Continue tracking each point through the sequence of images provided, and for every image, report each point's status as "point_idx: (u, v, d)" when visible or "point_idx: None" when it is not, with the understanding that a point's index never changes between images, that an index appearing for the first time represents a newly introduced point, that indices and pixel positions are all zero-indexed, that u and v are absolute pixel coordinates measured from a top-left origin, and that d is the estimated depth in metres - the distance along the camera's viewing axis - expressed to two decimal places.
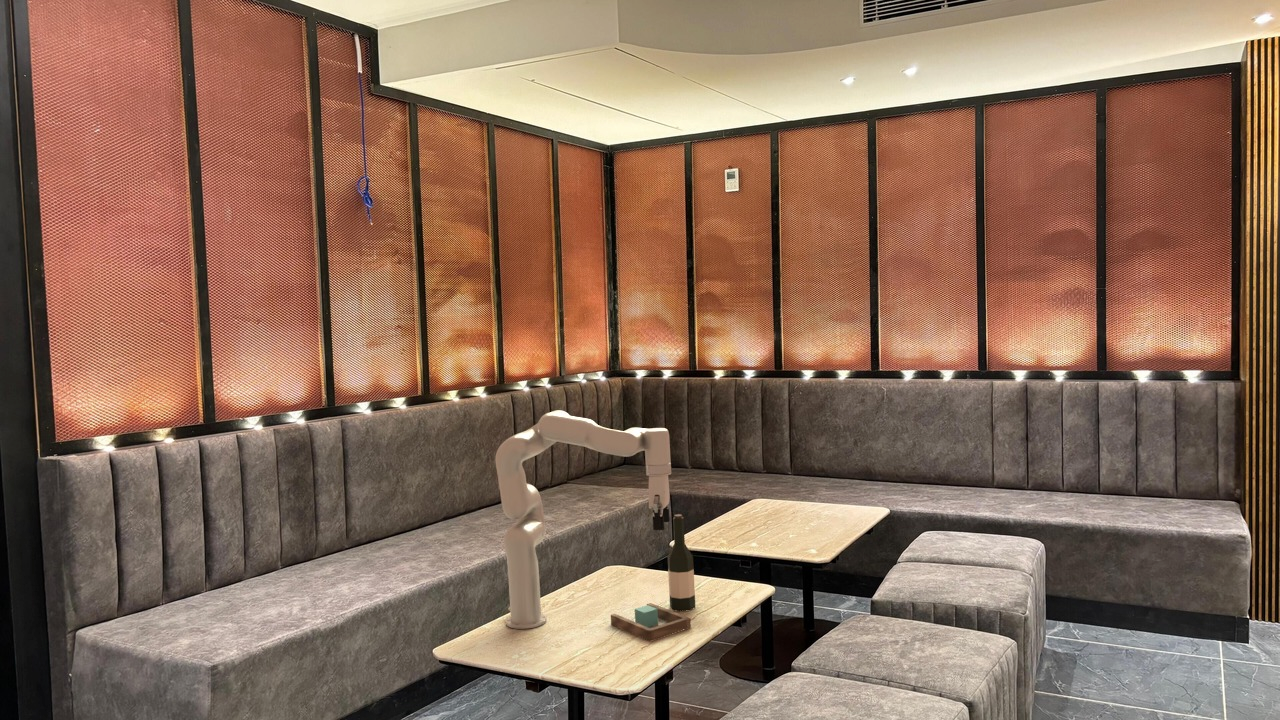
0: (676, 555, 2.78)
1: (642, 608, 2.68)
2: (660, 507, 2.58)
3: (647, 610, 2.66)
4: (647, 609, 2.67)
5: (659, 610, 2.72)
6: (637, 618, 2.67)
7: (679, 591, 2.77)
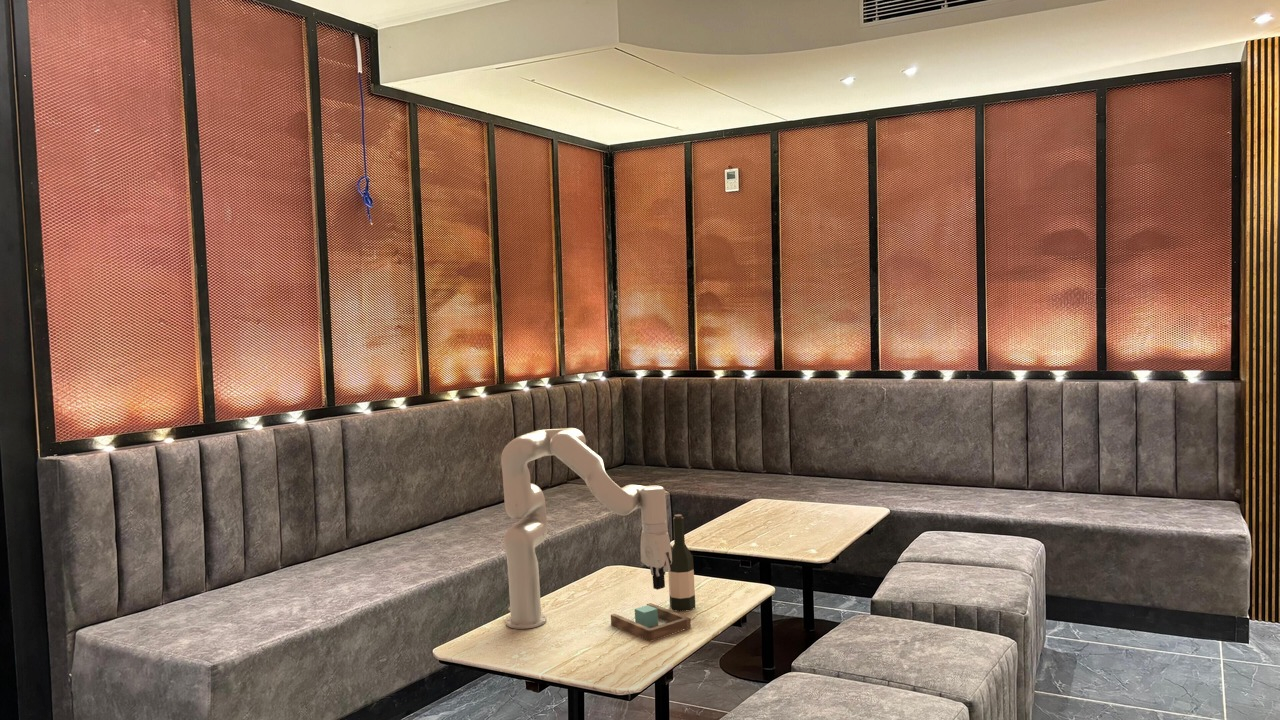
0: (676, 555, 2.78)
1: (642, 608, 2.68)
2: (664, 566, 2.60)
3: (647, 610, 2.66)
4: (647, 609, 2.67)
5: (659, 610, 2.72)
6: (637, 618, 2.67)
7: (679, 591, 2.77)
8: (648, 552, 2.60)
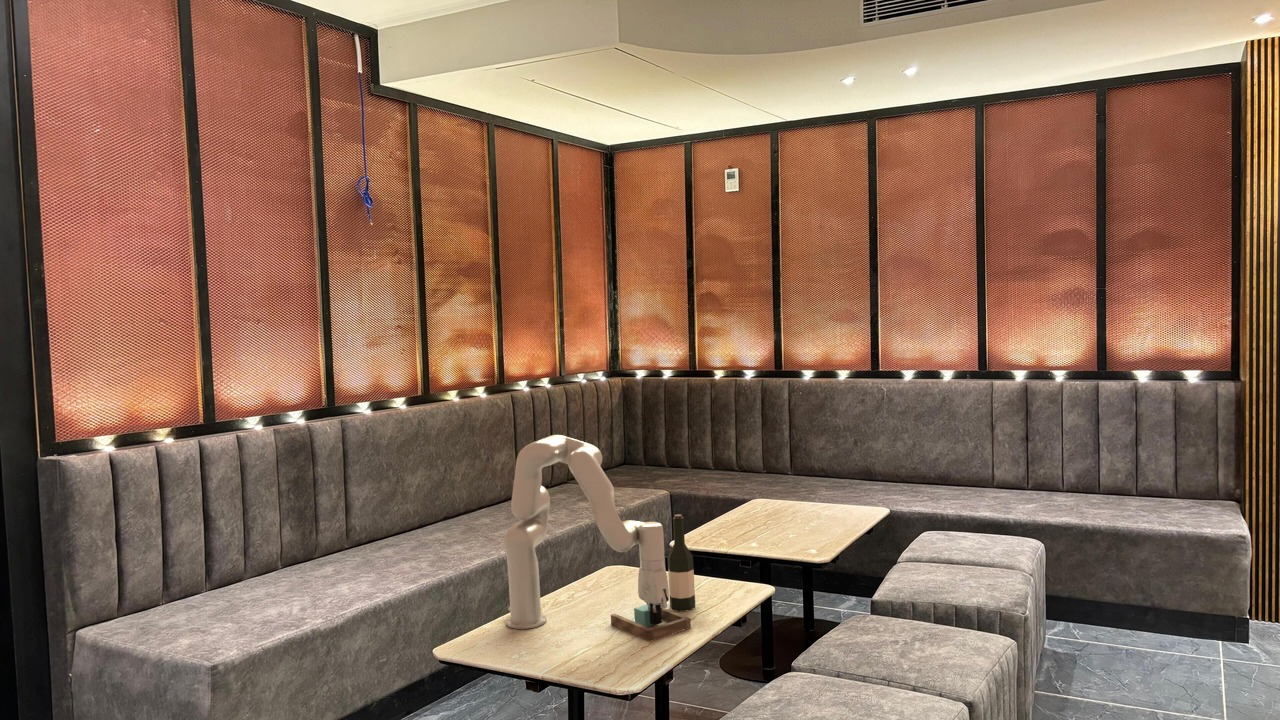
0: (676, 555, 2.78)
1: (641, 607, 2.68)
2: (661, 603, 2.62)
3: (646, 609, 2.66)
4: (646, 608, 2.67)
5: None
6: (636, 617, 2.67)
7: (679, 591, 2.77)
8: (646, 588, 2.62)
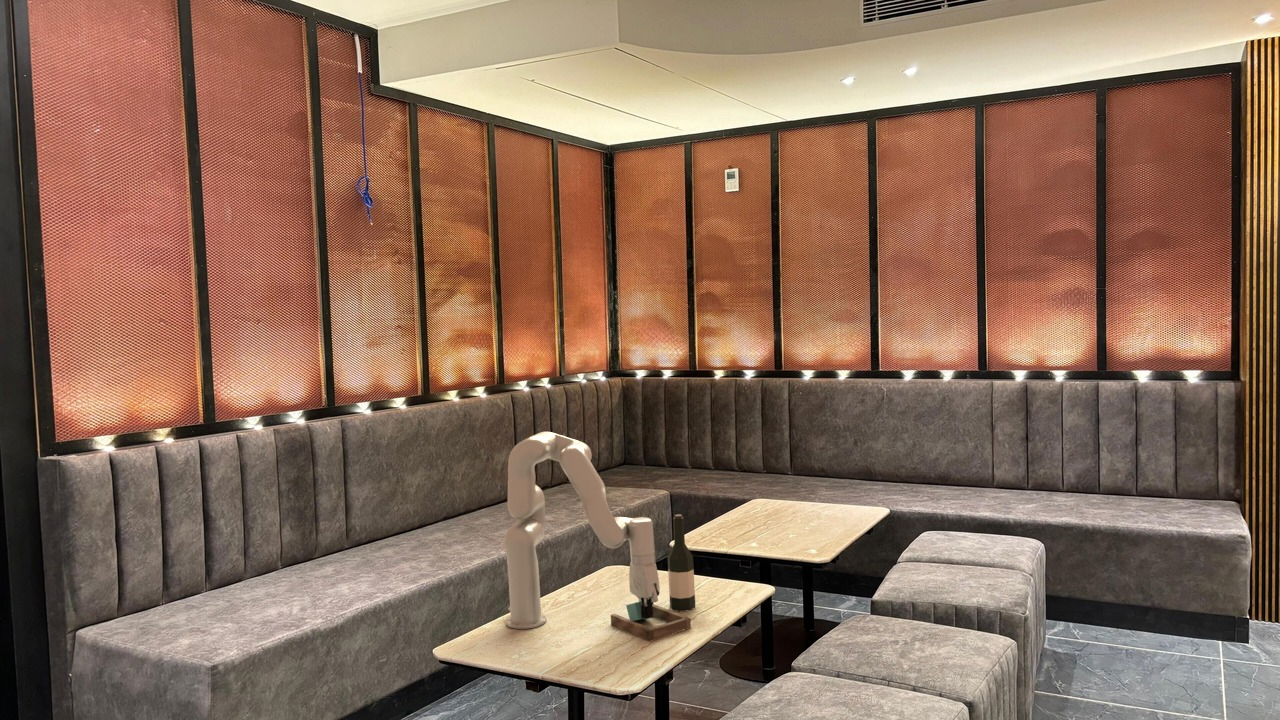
0: (676, 555, 2.78)
1: (633, 603, 2.72)
2: (652, 597, 2.66)
3: (637, 602, 2.70)
4: None
5: (659, 610, 2.72)
6: (630, 613, 2.71)
7: (679, 591, 2.77)
8: (636, 583, 2.66)
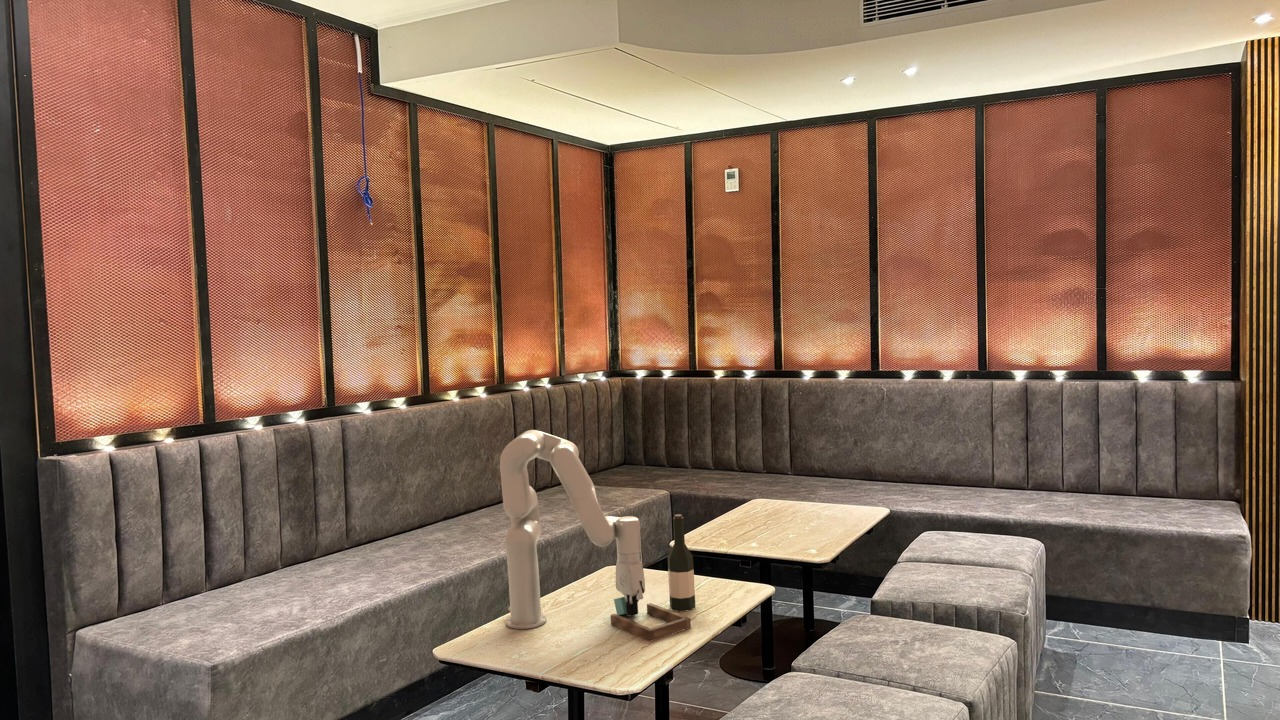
0: (676, 555, 2.78)
1: None
2: (637, 594, 2.72)
3: None
4: None
5: (659, 610, 2.72)
6: (617, 607, 2.77)
7: (679, 591, 2.77)
8: (622, 580, 2.71)
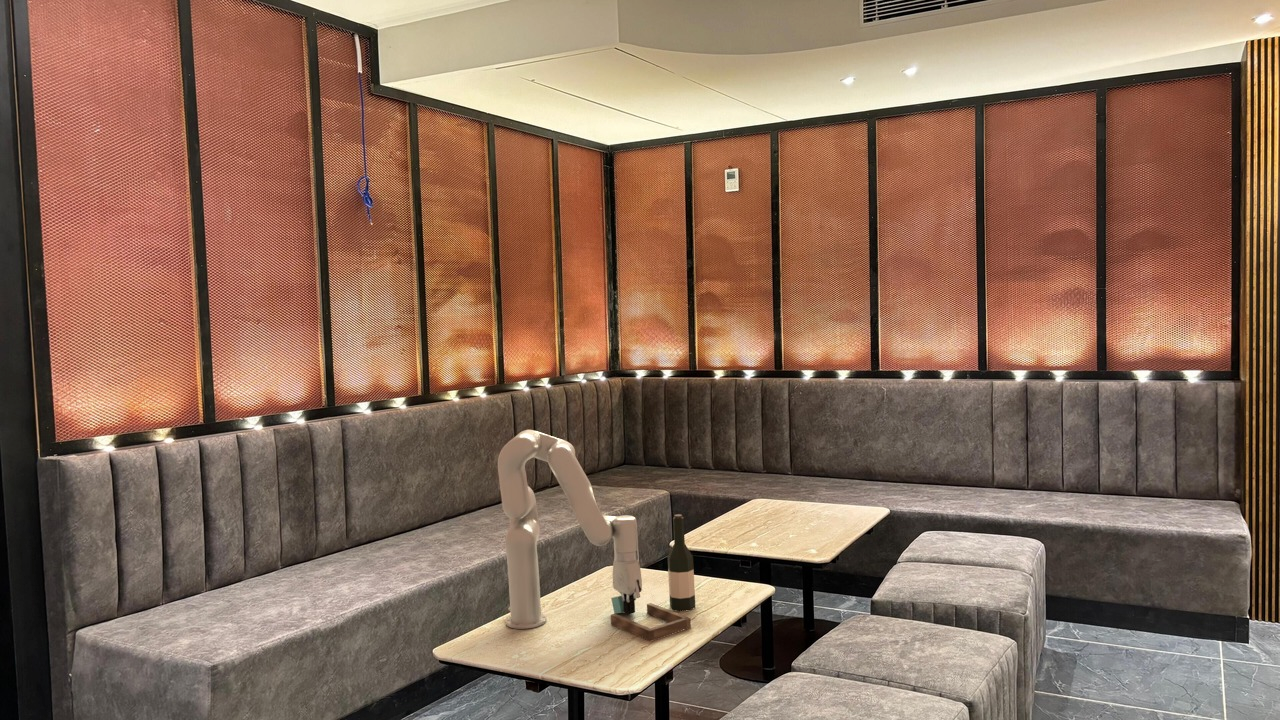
0: (676, 555, 2.78)
1: None
2: (634, 593, 2.73)
3: None
4: None
5: (659, 610, 2.72)
6: (614, 606, 2.78)
7: (679, 591, 2.77)
8: (620, 579, 2.72)
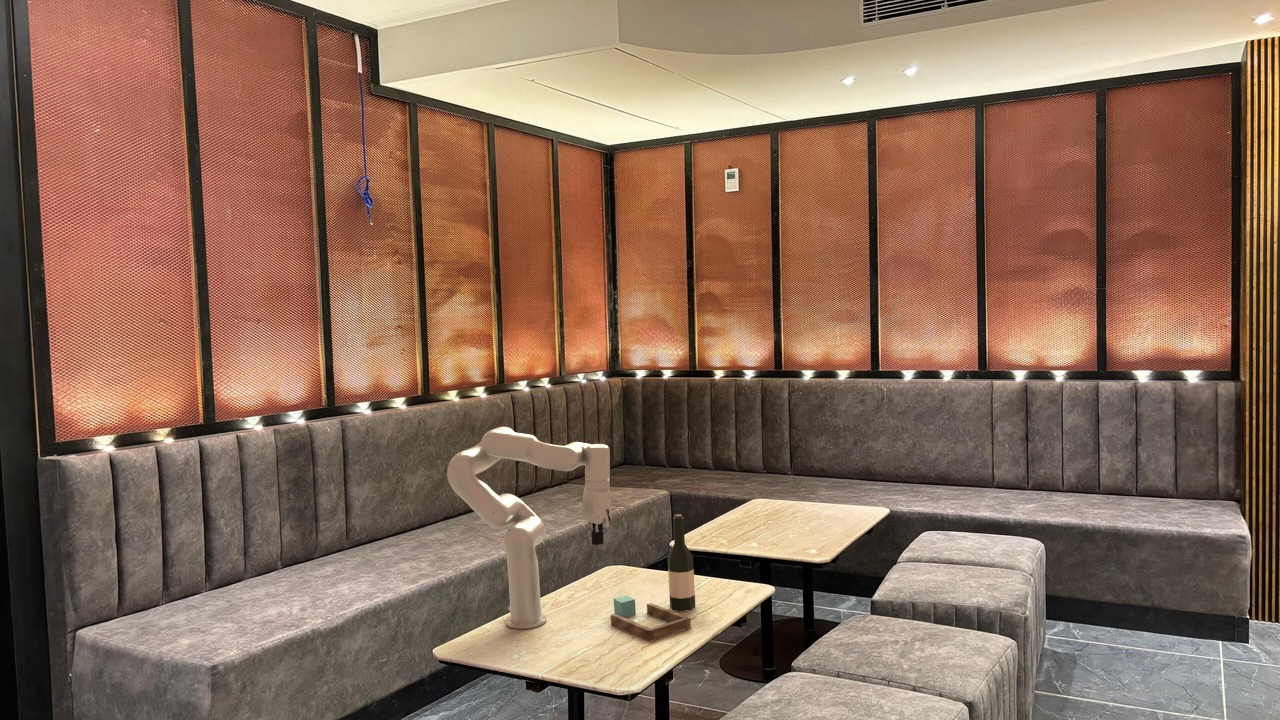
0: (676, 555, 2.78)
1: (621, 598, 2.78)
2: None
3: (624, 600, 2.76)
4: (625, 599, 2.77)
5: (659, 610, 2.72)
6: (615, 607, 2.78)
7: (679, 591, 2.77)
8: (589, 508, 2.66)
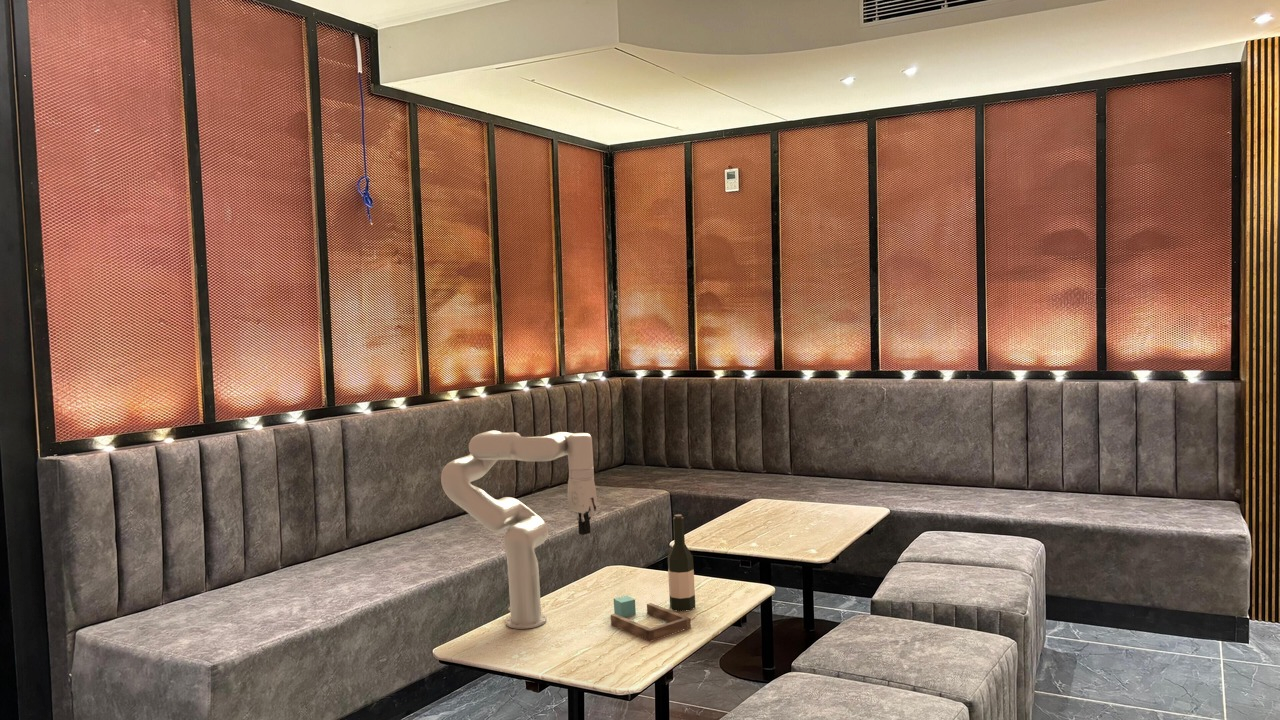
0: (676, 555, 2.78)
1: (621, 598, 2.78)
2: (589, 512, 2.65)
3: (624, 600, 2.76)
4: (625, 599, 2.77)
5: (659, 610, 2.72)
6: (615, 607, 2.78)
7: (679, 591, 2.77)
8: (574, 498, 2.64)
